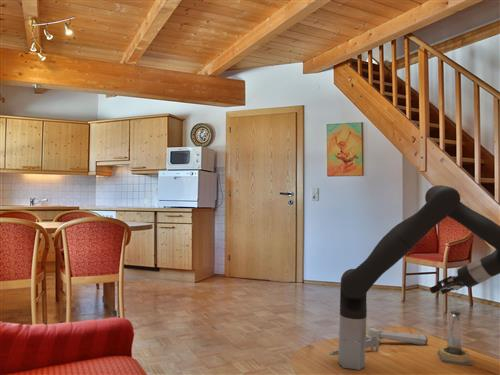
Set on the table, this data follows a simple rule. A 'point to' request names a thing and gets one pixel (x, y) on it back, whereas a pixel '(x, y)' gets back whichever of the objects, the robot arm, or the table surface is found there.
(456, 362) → the ring block
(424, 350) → the table surface
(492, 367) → the table surface
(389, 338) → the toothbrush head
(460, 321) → the grey bottle
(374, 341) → the caliper
